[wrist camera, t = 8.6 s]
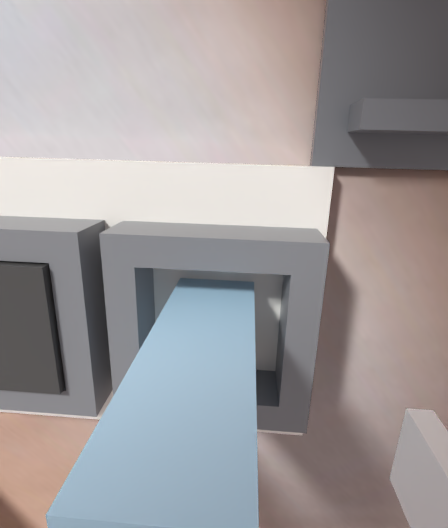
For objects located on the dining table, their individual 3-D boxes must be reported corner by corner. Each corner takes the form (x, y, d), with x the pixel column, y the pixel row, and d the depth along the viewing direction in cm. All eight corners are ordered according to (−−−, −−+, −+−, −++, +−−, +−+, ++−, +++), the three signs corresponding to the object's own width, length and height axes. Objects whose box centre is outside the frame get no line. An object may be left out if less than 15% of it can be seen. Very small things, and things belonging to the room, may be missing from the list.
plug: (180, 277, 19) (45, 515, 7) (254, 281, 19) (258, 536, 6) (181, 342, 20) (69, 645, 8) (250, 347, 20) (248, 667, 8)
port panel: (-81, 154, 19) (-175, 154, 15) (330, 166, 17) (354, 170, 13) (-24, 398, 24) (-83, 451, 20) (300, 423, 22) (311, 485, 18)
